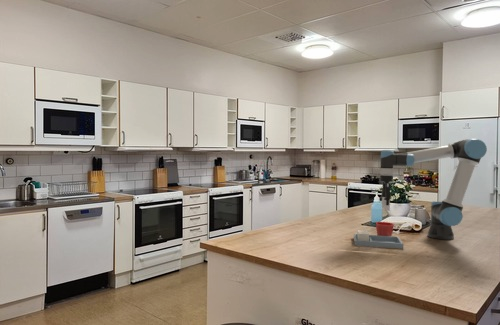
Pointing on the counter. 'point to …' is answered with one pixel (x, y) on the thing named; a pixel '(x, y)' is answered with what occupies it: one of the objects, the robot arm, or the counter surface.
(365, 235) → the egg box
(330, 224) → the counter surface
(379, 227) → the flower pot
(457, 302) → the counter surface
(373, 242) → the grey tray
